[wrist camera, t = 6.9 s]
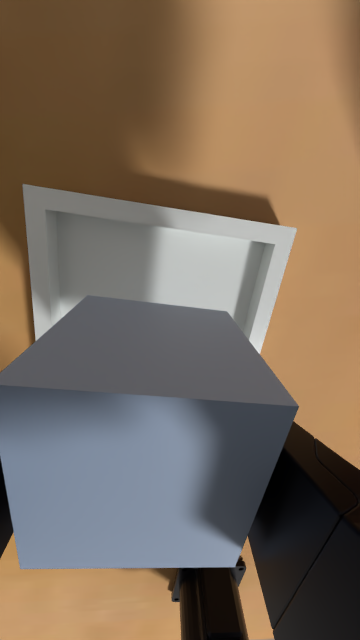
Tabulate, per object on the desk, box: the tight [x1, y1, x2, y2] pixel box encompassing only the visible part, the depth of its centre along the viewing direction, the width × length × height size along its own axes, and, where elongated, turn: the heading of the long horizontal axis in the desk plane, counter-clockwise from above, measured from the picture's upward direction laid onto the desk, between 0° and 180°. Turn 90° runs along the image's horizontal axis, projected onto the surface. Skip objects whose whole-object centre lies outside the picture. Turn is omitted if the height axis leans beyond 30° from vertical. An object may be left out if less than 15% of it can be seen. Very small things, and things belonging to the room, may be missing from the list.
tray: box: [22, 184, 297, 354], centre depth 13 cm, size 12×12×2 cm
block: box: [0, 295, 299, 569], centre depth 7 cm, size 5×5×5 cm
